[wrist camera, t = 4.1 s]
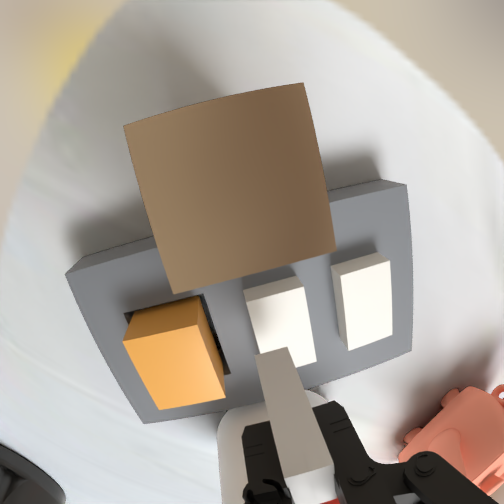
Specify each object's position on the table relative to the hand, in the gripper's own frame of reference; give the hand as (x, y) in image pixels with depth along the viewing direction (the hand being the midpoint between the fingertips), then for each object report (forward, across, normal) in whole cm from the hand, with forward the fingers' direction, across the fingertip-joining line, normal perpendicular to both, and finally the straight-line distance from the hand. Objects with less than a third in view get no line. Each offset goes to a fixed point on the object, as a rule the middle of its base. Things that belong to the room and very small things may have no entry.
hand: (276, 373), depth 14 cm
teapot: (+8, +18, -24) cm, 31 cm away
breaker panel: (+7, 0, 0) cm, 7 cm away
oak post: (+8, 0, +9) cm, 12 cm away
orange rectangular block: (+5, -5, 0) cm, 7 cm away
